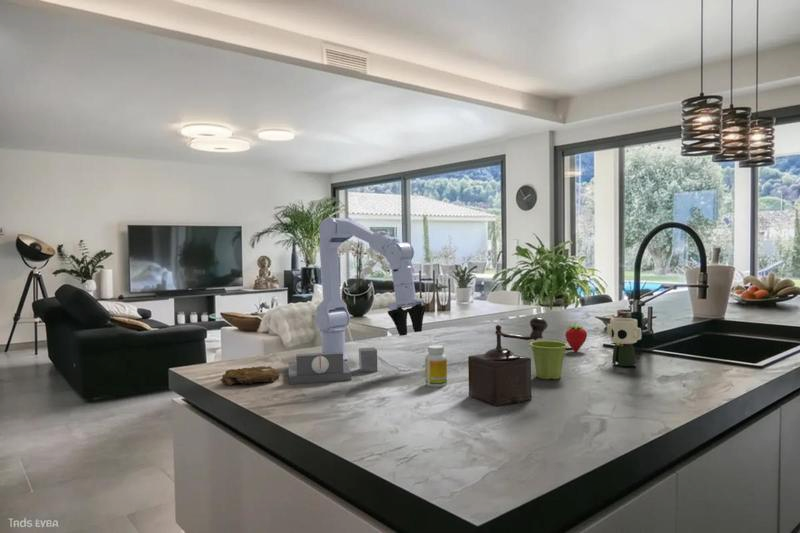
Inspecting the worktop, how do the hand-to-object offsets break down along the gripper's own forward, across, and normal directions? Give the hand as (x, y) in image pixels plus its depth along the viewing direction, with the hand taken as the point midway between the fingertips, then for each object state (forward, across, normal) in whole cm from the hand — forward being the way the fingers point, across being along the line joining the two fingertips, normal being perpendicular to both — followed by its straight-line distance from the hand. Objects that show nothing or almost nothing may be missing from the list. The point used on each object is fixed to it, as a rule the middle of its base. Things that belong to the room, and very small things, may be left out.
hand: (410, 333), depth 151 cm
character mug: (+18, +35, -47) cm, 61 cm away
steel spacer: (+9, -4, +13) cm, 16 cm away
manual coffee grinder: (+16, -10, -31) cm, 36 cm away
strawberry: (+15, +48, -30) cm, 59 cm away
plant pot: (+16, +12, -33) cm, 38 cm away
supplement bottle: (+13, -9, -12) cm, 19 cm away
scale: (+8, -15, +22) cm, 28 cm away
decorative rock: (+7, -30, +32) cm, 45 cm away
